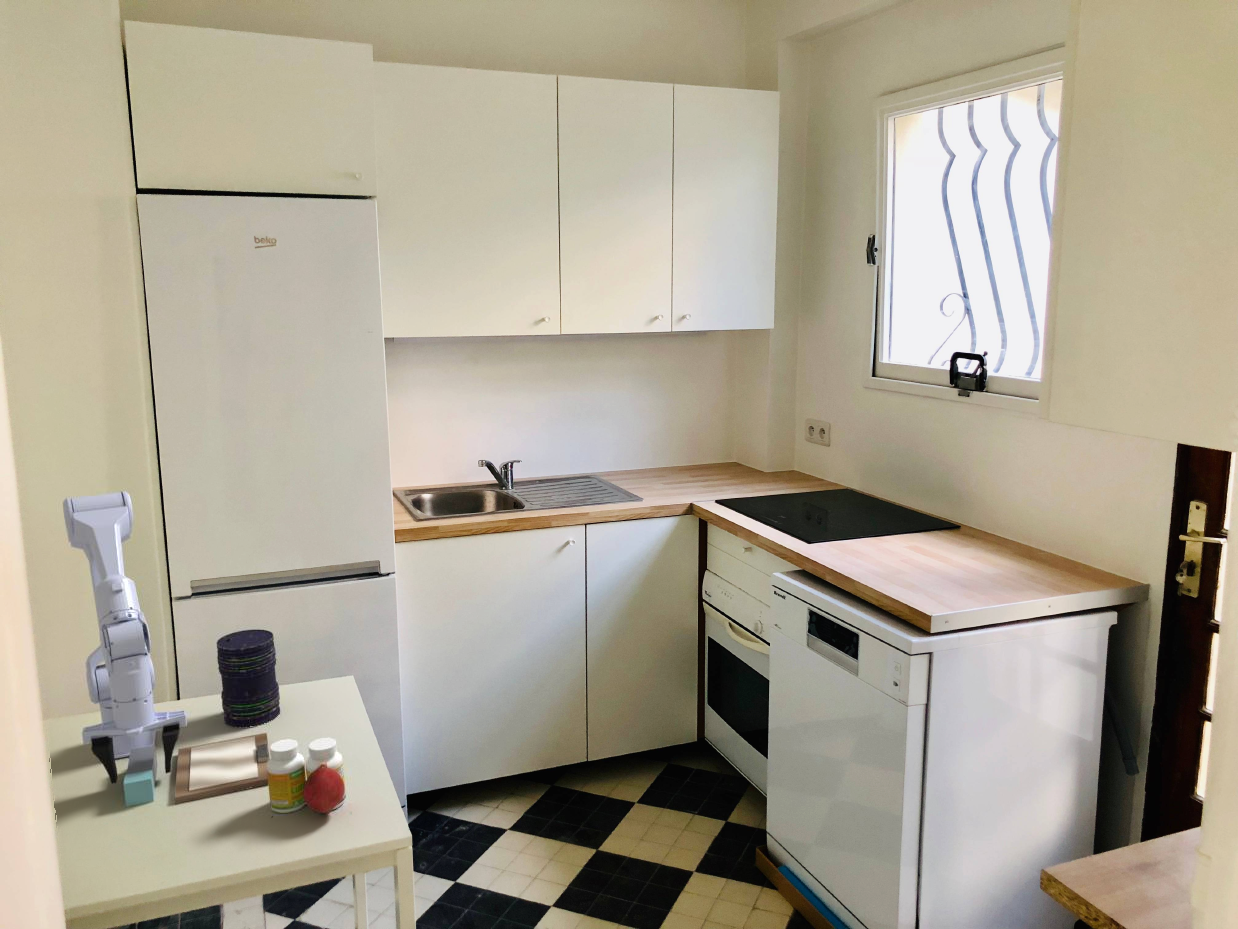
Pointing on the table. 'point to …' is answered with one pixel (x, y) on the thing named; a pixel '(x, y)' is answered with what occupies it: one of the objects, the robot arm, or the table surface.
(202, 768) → the clipboard
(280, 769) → the supplement bottle
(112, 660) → the robot arm
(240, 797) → the table surface
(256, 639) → the dark blue cylinder
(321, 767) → the onion
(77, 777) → the table surface
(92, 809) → the table surface
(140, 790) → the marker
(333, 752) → the supplement bottle
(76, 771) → the table surface
